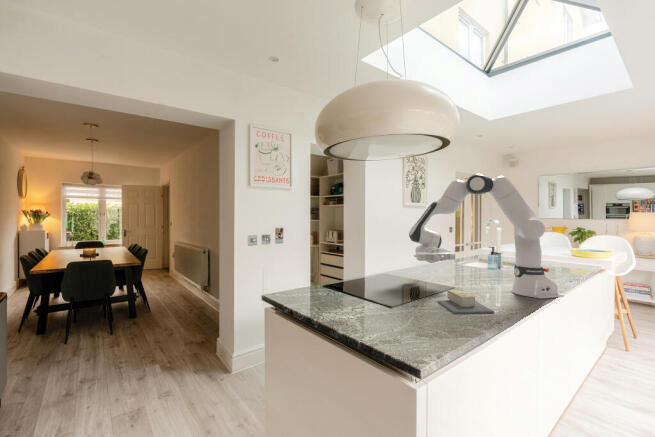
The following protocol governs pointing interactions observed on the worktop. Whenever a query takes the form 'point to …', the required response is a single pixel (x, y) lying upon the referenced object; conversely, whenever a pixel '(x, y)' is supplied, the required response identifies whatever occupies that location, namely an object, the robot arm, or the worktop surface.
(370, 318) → the worktop surface
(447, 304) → the mat
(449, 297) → the skincare box
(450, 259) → the robot arm
